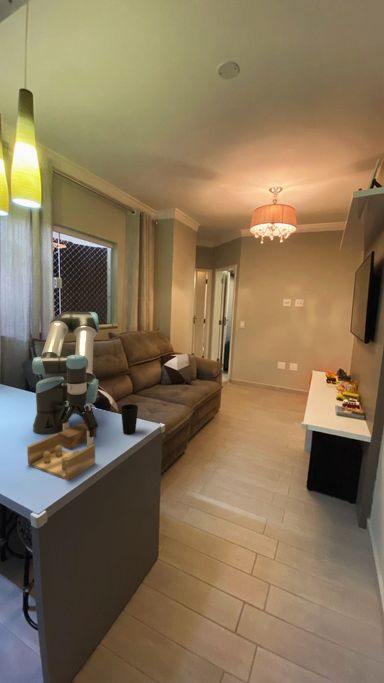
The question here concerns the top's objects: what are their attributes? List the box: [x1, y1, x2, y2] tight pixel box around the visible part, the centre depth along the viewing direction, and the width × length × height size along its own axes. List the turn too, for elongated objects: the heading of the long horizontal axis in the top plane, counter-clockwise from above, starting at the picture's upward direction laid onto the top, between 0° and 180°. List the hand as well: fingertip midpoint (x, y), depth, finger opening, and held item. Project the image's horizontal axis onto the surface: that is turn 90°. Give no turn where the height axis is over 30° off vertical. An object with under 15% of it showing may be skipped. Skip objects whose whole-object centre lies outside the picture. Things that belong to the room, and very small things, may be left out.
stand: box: [26, 433, 96, 481], centre depth 103 cm, size 20×12×7 cm, turn 65°
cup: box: [120, 403, 139, 436], centre depth 130 cm, size 8×8×12 cm
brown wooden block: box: [57, 421, 97, 450], centre depth 121 cm, size 14×7×6 cm, turn 152°
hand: (78, 440), depth 121 cm, fingers open, 13 cm apart
